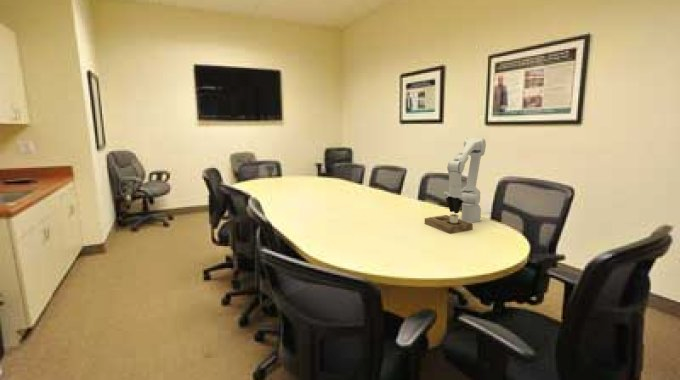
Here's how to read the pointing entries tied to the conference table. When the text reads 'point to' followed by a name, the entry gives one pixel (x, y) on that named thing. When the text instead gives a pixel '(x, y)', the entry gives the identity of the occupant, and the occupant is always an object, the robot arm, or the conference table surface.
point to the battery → (453, 219)
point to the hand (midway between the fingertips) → (454, 212)
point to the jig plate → (448, 224)
